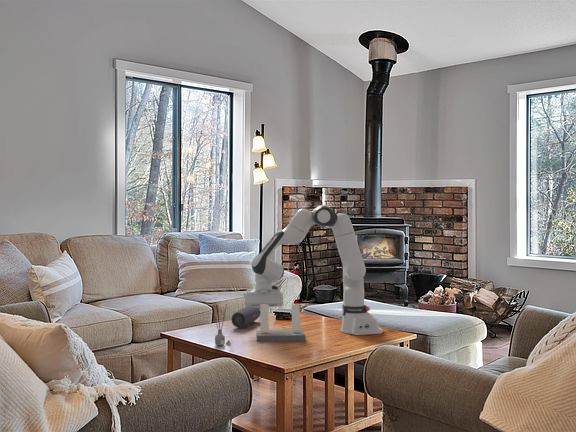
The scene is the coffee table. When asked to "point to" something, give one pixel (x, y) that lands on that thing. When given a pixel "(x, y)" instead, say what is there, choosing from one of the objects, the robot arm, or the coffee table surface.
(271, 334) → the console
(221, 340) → the reed diffuser
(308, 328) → the coffee table surface
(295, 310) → the lever
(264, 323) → the lever
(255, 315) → the bluetooth speaker
